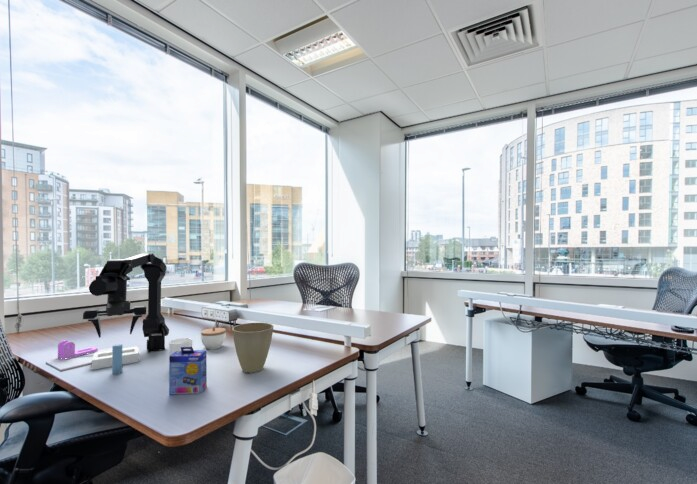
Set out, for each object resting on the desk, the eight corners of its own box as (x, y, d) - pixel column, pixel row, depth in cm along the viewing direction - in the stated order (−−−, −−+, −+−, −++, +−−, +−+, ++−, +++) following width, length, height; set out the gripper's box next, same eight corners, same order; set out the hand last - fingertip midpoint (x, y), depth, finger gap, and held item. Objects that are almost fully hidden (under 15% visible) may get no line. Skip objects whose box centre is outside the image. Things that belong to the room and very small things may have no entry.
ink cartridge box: (167, 395, 99) (168, 348, 100) (175, 388, 105) (176, 343, 105) (200, 394, 100) (201, 347, 101) (207, 386, 106) (207, 342, 106)
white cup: (196, 364, 126) (196, 339, 126) (180, 371, 119) (180, 344, 119) (181, 362, 129) (181, 337, 129) (164, 369, 121) (164, 342, 121)
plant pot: (235, 380, 111) (235, 333, 111) (229, 366, 124) (229, 325, 124) (278, 372, 117) (278, 328, 118) (268, 360, 131) (268, 320, 131)
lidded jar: (227, 343, 155) (227, 323, 155) (224, 350, 144) (224, 329, 145) (203, 344, 153) (204, 325, 153) (198, 351, 142) (198, 330, 142)
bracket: (63, 360, 133) (63, 343, 133) (57, 358, 135) (57, 341, 135) (100, 351, 144) (100, 335, 144) (93, 349, 147) (94, 334, 147)
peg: (122, 370, 120) (122, 343, 120) (122, 373, 118) (122, 345, 118) (112, 372, 118) (112, 345, 119) (112, 375, 116) (112, 347, 116)
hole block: (138, 354, 139) (138, 346, 139) (139, 361, 130) (139, 352, 130) (94, 361, 130) (94, 352, 130) (91, 369, 121) (91, 360, 121)
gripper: (81, 296, 108) (79, 344, 107) (147, 293, 118) (145, 336, 117) (86, 294, 117) (84, 337, 116) (146, 291, 127) (145, 331, 126)
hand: (115, 335), depth 118 cm, fingers open, 9 cm apart
